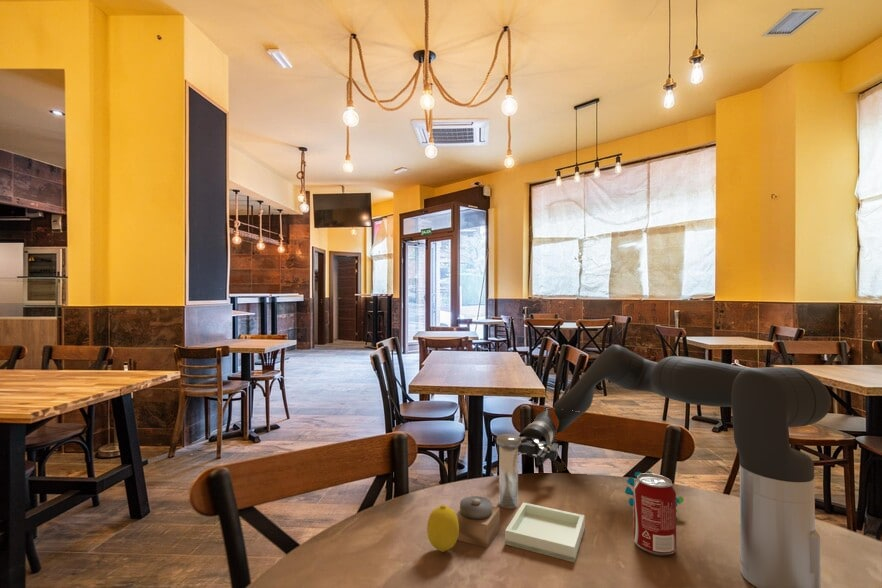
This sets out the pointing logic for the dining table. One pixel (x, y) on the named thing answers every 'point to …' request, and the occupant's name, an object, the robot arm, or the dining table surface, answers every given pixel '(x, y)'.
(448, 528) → the lemon
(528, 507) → the tray
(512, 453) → the pin
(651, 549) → the soda can
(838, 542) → the dining table surface
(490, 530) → the pulley stand
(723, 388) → the robot arm
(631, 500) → the gear
